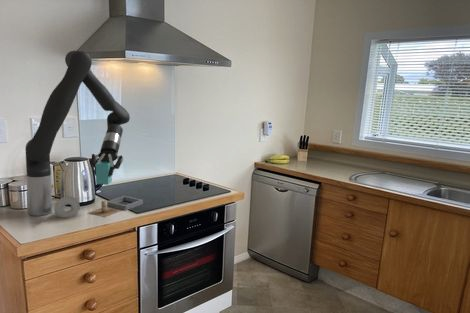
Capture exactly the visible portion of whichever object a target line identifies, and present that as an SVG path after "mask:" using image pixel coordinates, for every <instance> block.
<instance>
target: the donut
mask: <svg viewBox="0 0 470 313" xmlns="http://www.w3.org/2000/svg"><path fill="white" fill-rule="evenodd" d="M67 205H70V206H71V208H70V209H69V210H67V211H65V209H64V207H65V206H67ZM80 209H81V206H80V202H79V201H78V199H76V198H75V197H73V196H64V197H61V198H60V199H58V200H57V201H56V202H55V204H54V209H53V210H54V213H55V215H56V217H58V218H70V217H75V216H77V215H78V214H79V212H80Z"/></svg>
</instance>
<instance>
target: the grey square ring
mask: <svg viewBox="0 0 470 313" xmlns="http://www.w3.org/2000/svg"><path fill="white" fill-rule="evenodd" d="M106 201H107V207H108V208H109V207H110V208H112V209H113V208H114V209H117V210H122V211H128V210H131V209H133V208H136V207H138V206H141V205H144V199H139V198H135V197H131V196H127V195H122V196H120V197H117V198H113V199H111V200H106ZM125 201H126V202H130V203H128V204H121V202H125Z"/></svg>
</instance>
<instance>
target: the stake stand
mask: <svg viewBox="0 0 470 313" xmlns="http://www.w3.org/2000/svg"><path fill="white" fill-rule="evenodd" d="M107 201H108V200H102V201H101V203H100V204H101V208H98V209H95V210H92V211H89V212H88V214H90V215H94V216H97V217H102V218H106V217H109V216H111V215H114V214H115V215H116V214H117V213H120V212H121V210H119V209H115V208H114V209H113V208H111V207H110V208H109V207H108V206H107Z"/></svg>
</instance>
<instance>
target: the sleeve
mask: <svg viewBox="0 0 470 313" xmlns="http://www.w3.org/2000/svg"><path fill="white" fill-rule="evenodd" d="M97 162H98V161H97ZM97 162H96V176H95V185H110V184H112V182H113V175H112V176H111V177H109V175H108V173H109V169H110V167H111V163H110V162H98V163H97Z"/></svg>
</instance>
